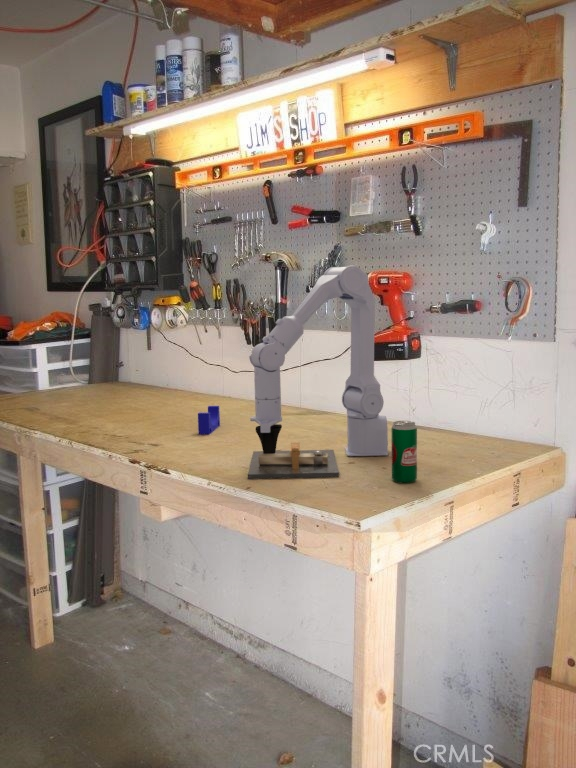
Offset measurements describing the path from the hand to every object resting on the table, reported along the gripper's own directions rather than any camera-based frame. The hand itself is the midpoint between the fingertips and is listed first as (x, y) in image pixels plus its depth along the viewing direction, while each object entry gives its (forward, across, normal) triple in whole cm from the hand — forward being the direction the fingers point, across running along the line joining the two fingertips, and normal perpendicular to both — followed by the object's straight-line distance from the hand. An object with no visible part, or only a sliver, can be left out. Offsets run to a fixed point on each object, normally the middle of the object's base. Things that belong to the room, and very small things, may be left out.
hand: (269, 457), depth 153 cm
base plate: (+2, 0, +5) cm, 6 cm away
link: (0, +2, +5) cm, 6 cm away
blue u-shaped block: (+2, -39, -22) cm, 45 cm away
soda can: (+2, +12, +29) cm, 31 cm away
